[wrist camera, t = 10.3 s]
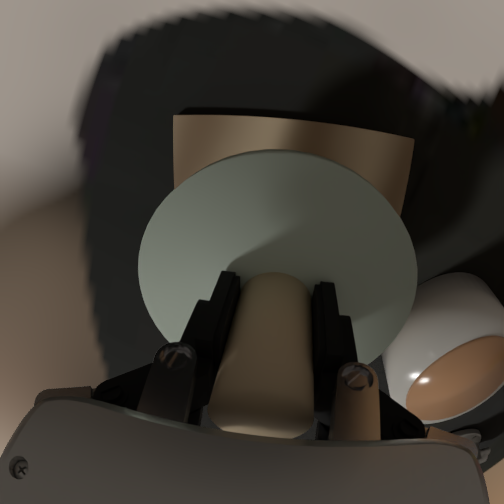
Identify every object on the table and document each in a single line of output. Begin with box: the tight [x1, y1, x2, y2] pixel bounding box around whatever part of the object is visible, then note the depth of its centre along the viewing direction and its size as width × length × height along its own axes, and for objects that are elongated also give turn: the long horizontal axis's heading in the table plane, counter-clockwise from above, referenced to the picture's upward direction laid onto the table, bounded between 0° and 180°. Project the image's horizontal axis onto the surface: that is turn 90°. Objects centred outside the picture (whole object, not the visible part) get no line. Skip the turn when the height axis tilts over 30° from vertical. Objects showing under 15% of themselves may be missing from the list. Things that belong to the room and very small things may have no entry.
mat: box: [173, 115, 415, 217], centre depth 19 cm, size 14×14×1 cm
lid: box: [138, 149, 417, 439], centre depth 10 cm, size 12×12×6 cm
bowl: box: [381, 272, 504, 424], centre depth 19 cm, size 11×11×6 cm
